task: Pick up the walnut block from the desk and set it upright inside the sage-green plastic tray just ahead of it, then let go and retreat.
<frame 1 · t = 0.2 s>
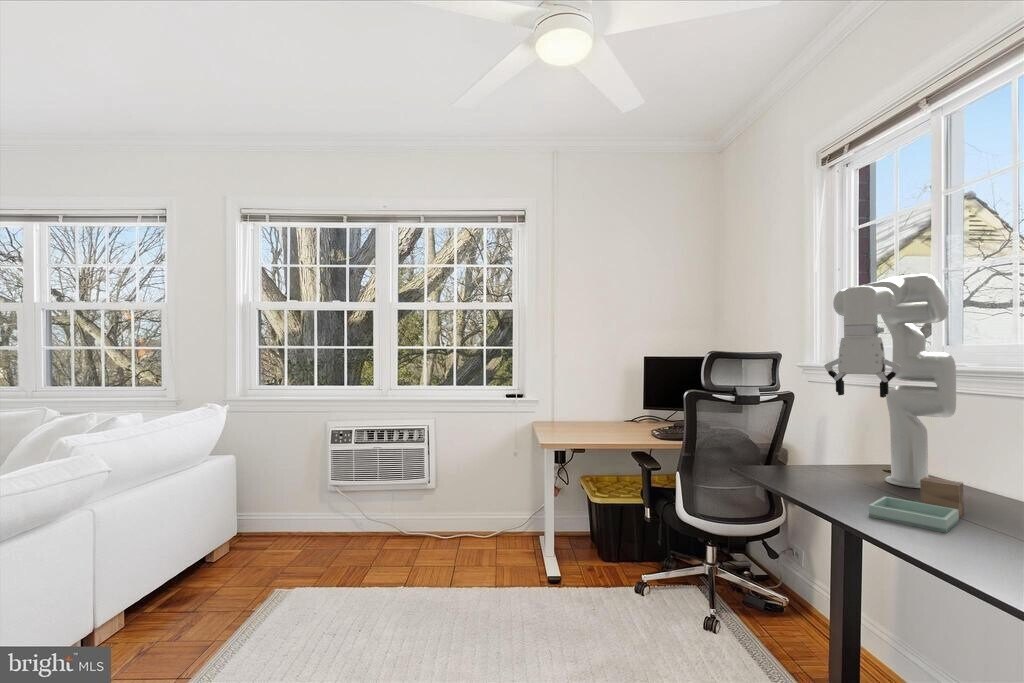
hand: (861, 396, 139), 31 cm above the table, fingers open, 9 cm apart
walnut block: (942, 511, 138), on the table
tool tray: (913, 519, 132), on the table
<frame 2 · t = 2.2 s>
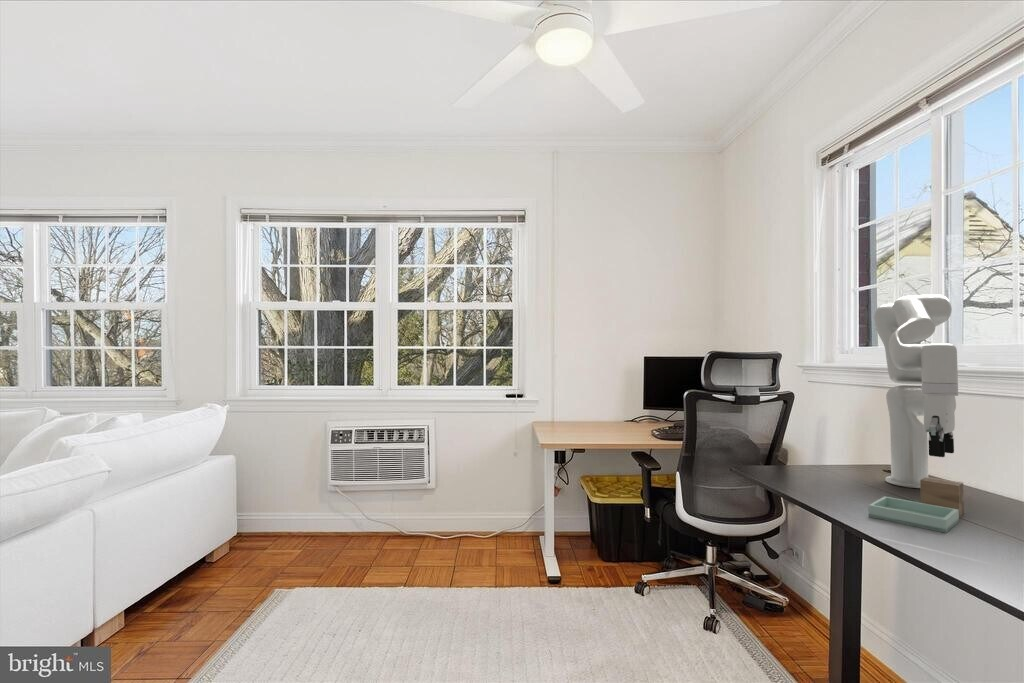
hand: (941, 454, 138), 15 cm above the table, fingers open, 9 cm apart
nothing on the table moved.
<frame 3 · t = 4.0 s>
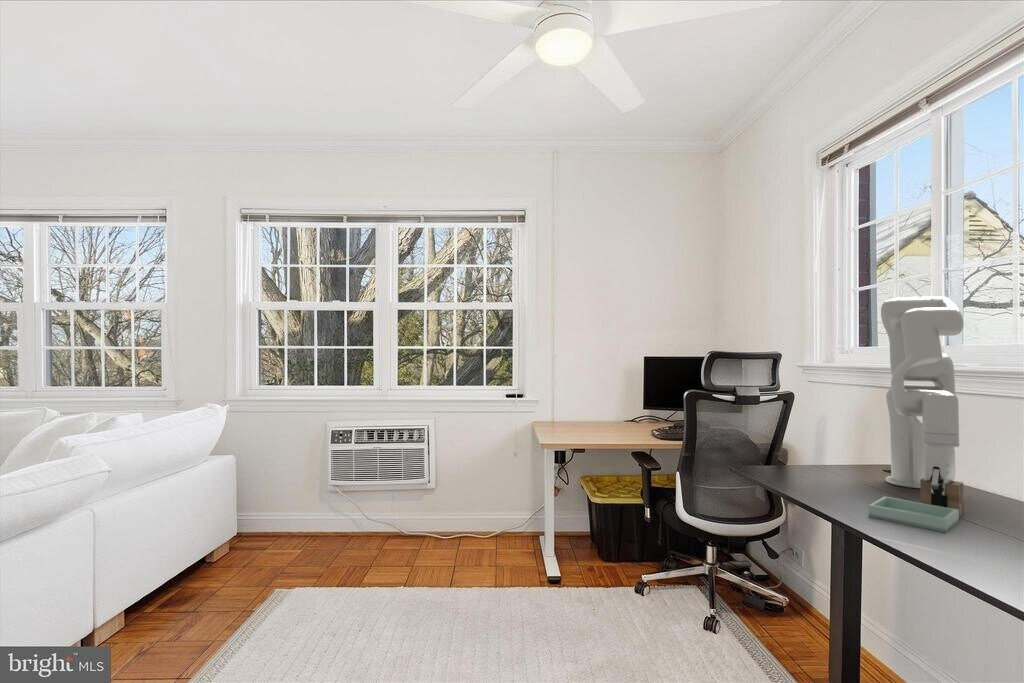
hand: (942, 507, 138), 1 cm above the table, fingers closed on walnut block, 5 cm apart
walnut block: (942, 511, 138), on the table, touching gripper
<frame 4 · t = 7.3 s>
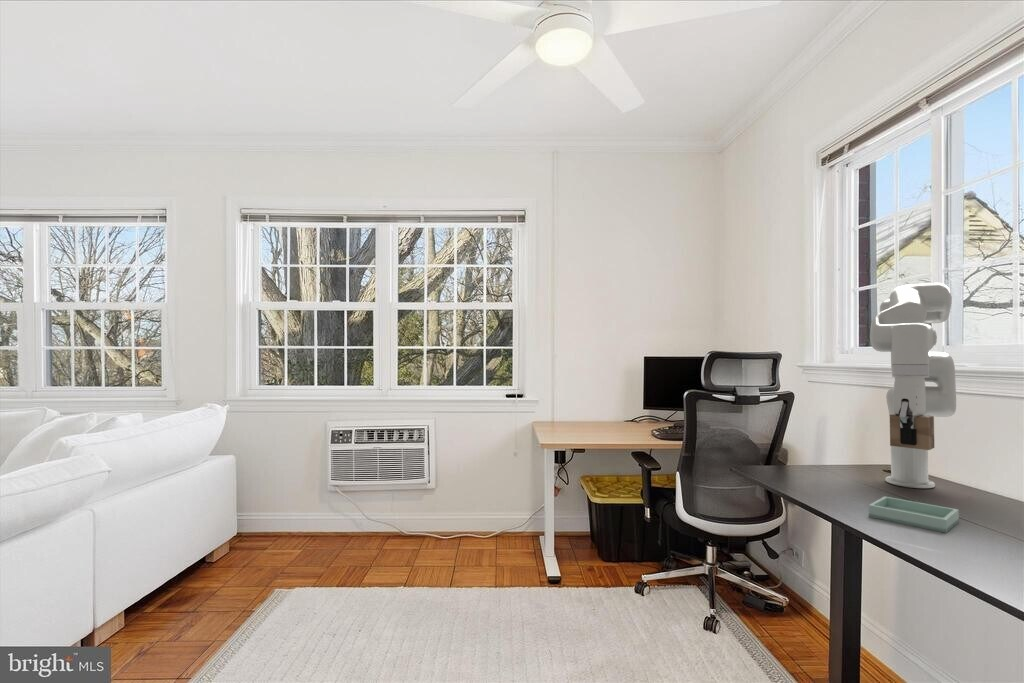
hand: (911, 442, 132), 19 cm above the table, fingers closed on walnut block, 5 cm apart
walnut block: (912, 446, 132), point 18 cm above the table, touching gripper
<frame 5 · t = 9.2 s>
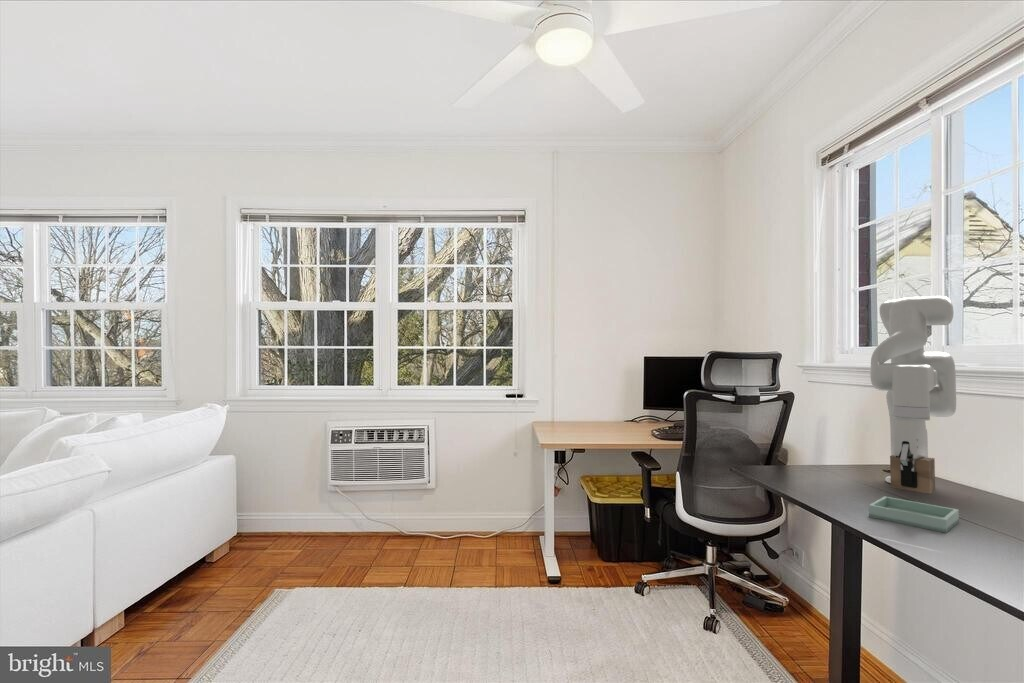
hand: (912, 484, 132), 9 cm above the table, fingers closed on walnut block, 5 cm apart
walnut block: (912, 488, 132), point 8 cm above the table, touching gripper
when the fingers open (3 cm above the table, at t = 10.7 s): walnut block drops 1 cm, resting on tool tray.
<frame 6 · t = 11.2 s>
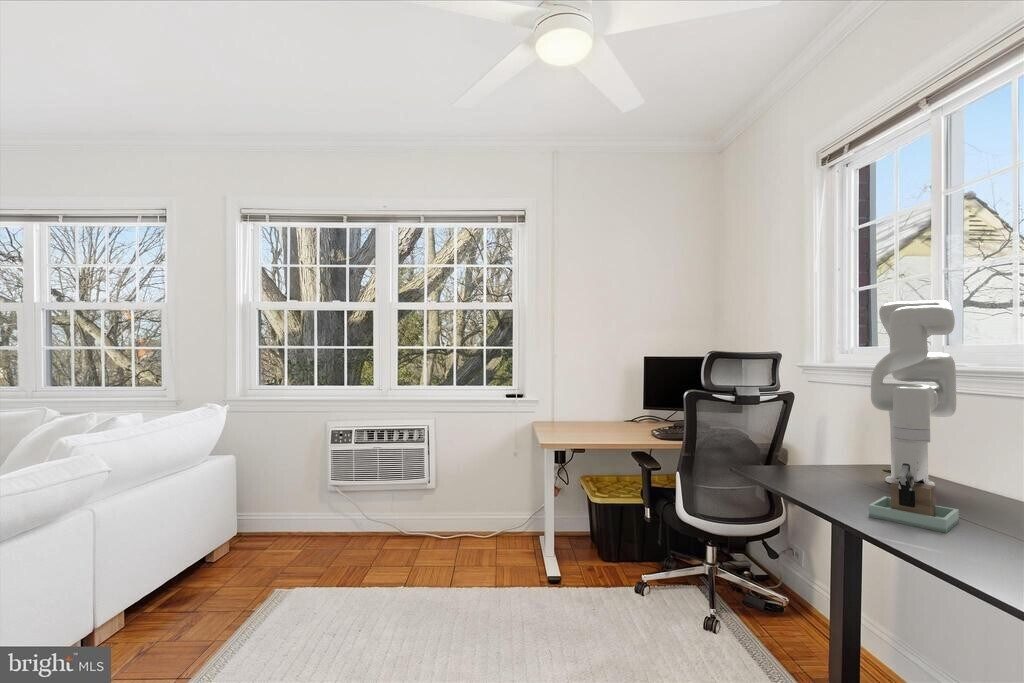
hand: (912, 502, 132), 4 cm above the table, fingers open, 9 cm apart
walnut block: (913, 515, 132), point 1 cm above the table, touching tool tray
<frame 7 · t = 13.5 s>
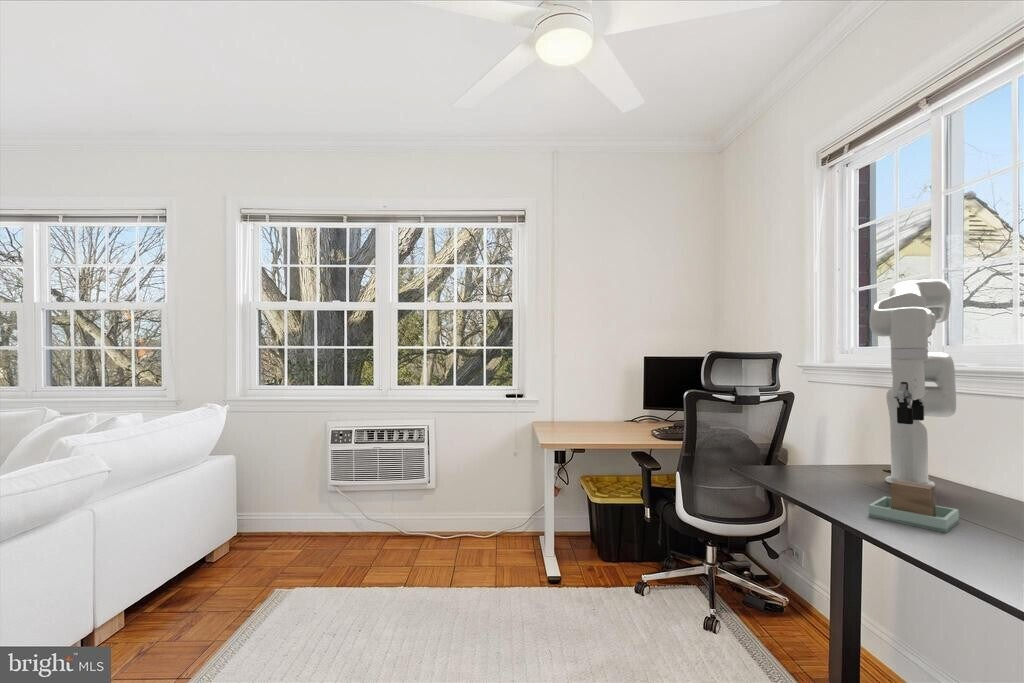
hand: (910, 421, 134), 24 cm above the table, fingers open, 9 cm apart
nothing on the table moved.
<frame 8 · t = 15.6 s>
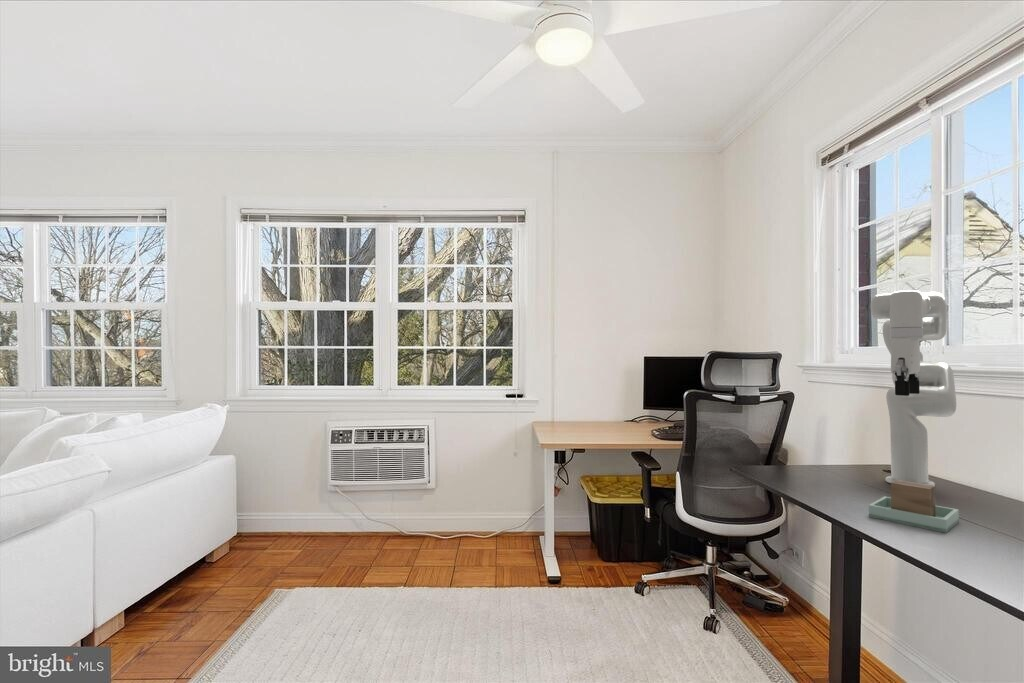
hand: (907, 394, 147), 30 cm above the table, fingers open, 9 cm apart
nothing on the table moved.
at the end: walnut block 0.2 cm off-centre on the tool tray, point 0.8 cm above the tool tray's base; walnut block tilted 0°; the gripper is holding nothing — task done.
